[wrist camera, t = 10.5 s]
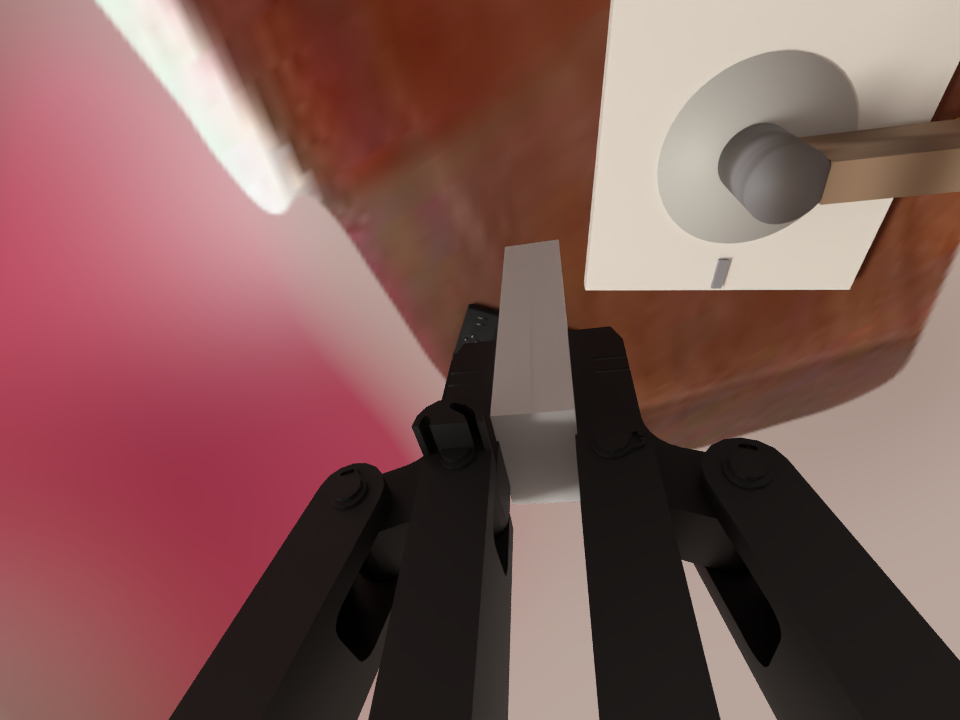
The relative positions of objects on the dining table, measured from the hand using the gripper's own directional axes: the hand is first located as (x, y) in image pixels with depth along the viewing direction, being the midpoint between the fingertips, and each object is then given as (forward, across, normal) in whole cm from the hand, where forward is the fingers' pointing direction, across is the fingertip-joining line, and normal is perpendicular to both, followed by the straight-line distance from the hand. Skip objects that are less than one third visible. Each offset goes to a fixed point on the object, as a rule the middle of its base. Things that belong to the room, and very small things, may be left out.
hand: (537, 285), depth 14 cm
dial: (+22, +19, -6) cm, 29 cm away
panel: (+23, +14, -6) cm, 28 cm away
